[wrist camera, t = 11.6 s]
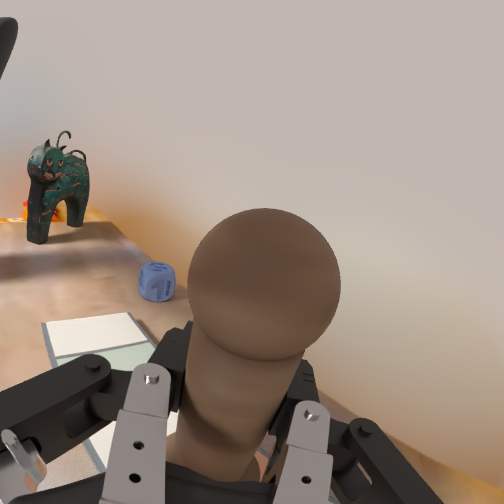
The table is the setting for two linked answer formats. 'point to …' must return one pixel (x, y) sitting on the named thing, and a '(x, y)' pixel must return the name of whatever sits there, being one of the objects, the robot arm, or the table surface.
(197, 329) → the pawn
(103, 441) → the game board
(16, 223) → the table surface
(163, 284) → the decorative dice
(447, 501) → the table surface
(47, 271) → the table surface
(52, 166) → the ceramic cat
